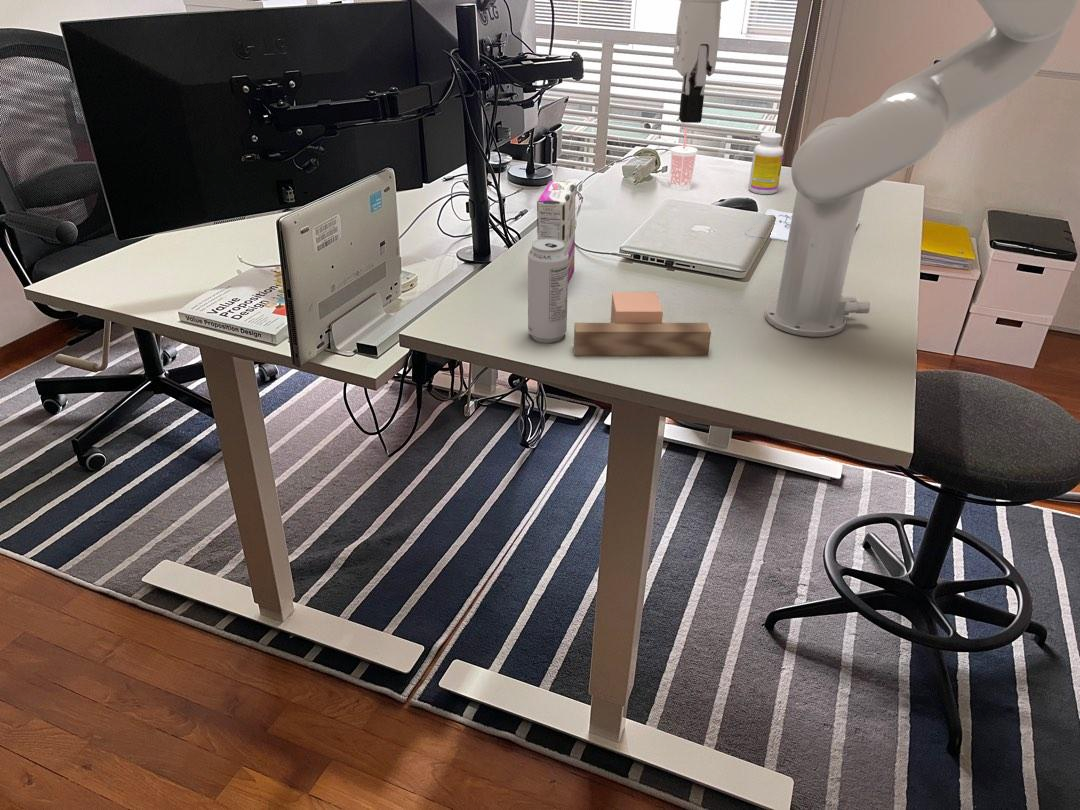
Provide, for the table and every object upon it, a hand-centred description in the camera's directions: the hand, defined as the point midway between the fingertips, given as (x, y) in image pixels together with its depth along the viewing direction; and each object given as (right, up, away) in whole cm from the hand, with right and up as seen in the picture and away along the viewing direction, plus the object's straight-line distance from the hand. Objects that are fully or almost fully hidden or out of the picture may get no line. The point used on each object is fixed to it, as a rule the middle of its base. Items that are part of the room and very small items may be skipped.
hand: (689, 121), depth 127 cm
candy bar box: (-20, -22, +20) cm, 36 cm away
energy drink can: (-22, -33, +2) cm, 40 cm away
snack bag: (+31, -8, +44) cm, 55 cm away
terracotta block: (-8, -33, +2) cm, 34 cm away
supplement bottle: (+29, +6, +66) cm, 72 cm away
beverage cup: (+10, +7, +67) cm, 69 cm away
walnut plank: (-8, -36, -2) cm, 36 cm away
